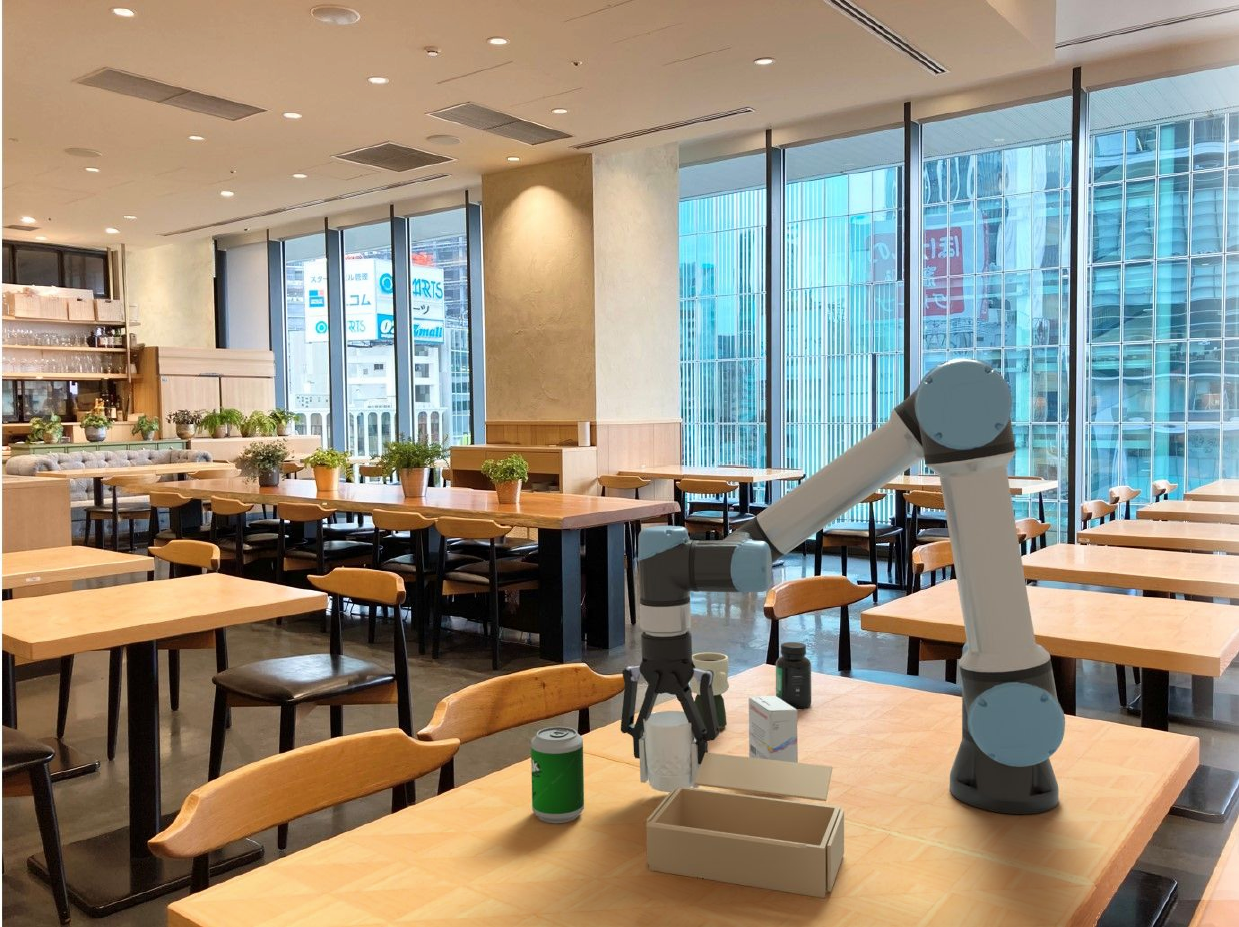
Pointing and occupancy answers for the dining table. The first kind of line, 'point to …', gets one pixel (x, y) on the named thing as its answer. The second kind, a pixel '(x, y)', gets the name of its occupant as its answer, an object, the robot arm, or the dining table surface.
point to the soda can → (557, 774)
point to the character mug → (719, 684)
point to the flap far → (764, 776)
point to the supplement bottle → (794, 675)
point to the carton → (744, 858)
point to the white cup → (668, 750)
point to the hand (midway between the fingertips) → (671, 781)
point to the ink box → (772, 729)
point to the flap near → (727, 835)
